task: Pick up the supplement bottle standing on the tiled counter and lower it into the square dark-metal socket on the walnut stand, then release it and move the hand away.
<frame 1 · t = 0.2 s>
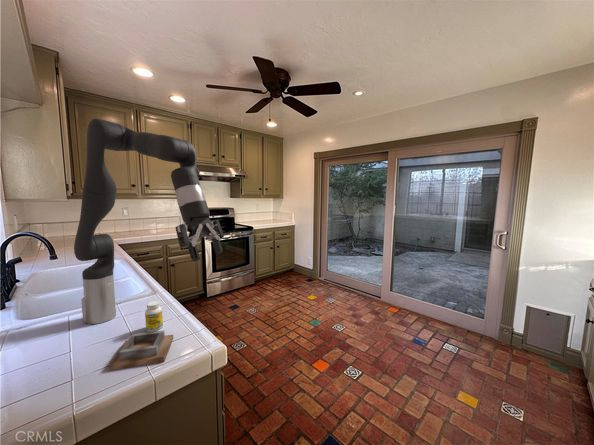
hand: (208, 257, 70), 31 cm above the countertop, tool tilted 20°, fingers open, 8 cm apart
socket stand: (144, 352, 75), on the countertop
supplement bottle: (154, 328, 89), on the countertop
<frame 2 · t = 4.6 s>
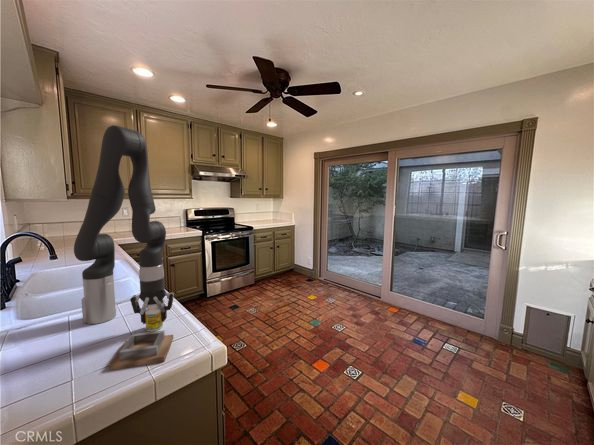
hand: (154, 321, 89), 2 cm above the countertop, tool pointing down, fingers closed on supplement bottle, 5 cm apart
supplement bottle: (154, 328, 89), on the countertop, touching gripper
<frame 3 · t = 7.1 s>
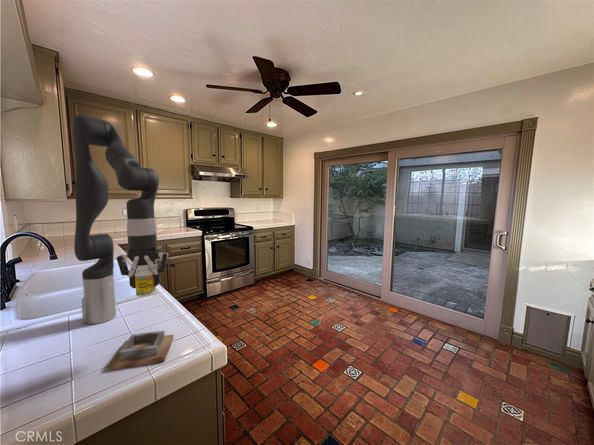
hand: (145, 286, 76), 20 cm above the countertop, tool pointing down, fingers closed on supplement bottle, 5 cm apart
supplement bottle: (146, 294, 76), point 17 cm above the countertop, touching gripper
when the fingers open (5 cm above the countertop, at t = 10.0 s): supplement bottle drops 1 cm, resting on socket stand.
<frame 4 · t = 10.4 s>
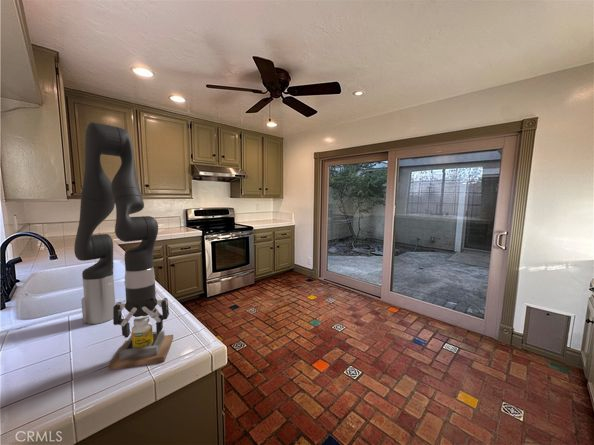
hand: (143, 334, 74), 6 cm above the countertop, tool pointing down, fingers open, 8 cm apart
supplement bottle: (143, 348, 75), point 1 cm above the countertop, touching socket stand
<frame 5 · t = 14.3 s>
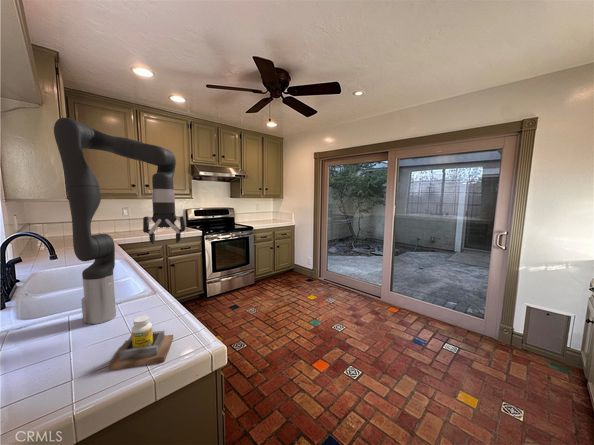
hand: (165, 243, 94), 30 cm above the countertop, tool pointing down, fingers open, 8 cm apart
nothing on the countertop moved.
at the end: supplement bottle 0.2 cm off-centre on the socket stand, point 1.3 cm above the socket stand's base; supplement bottle tilted 0°; the gripper is holding nothing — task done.
